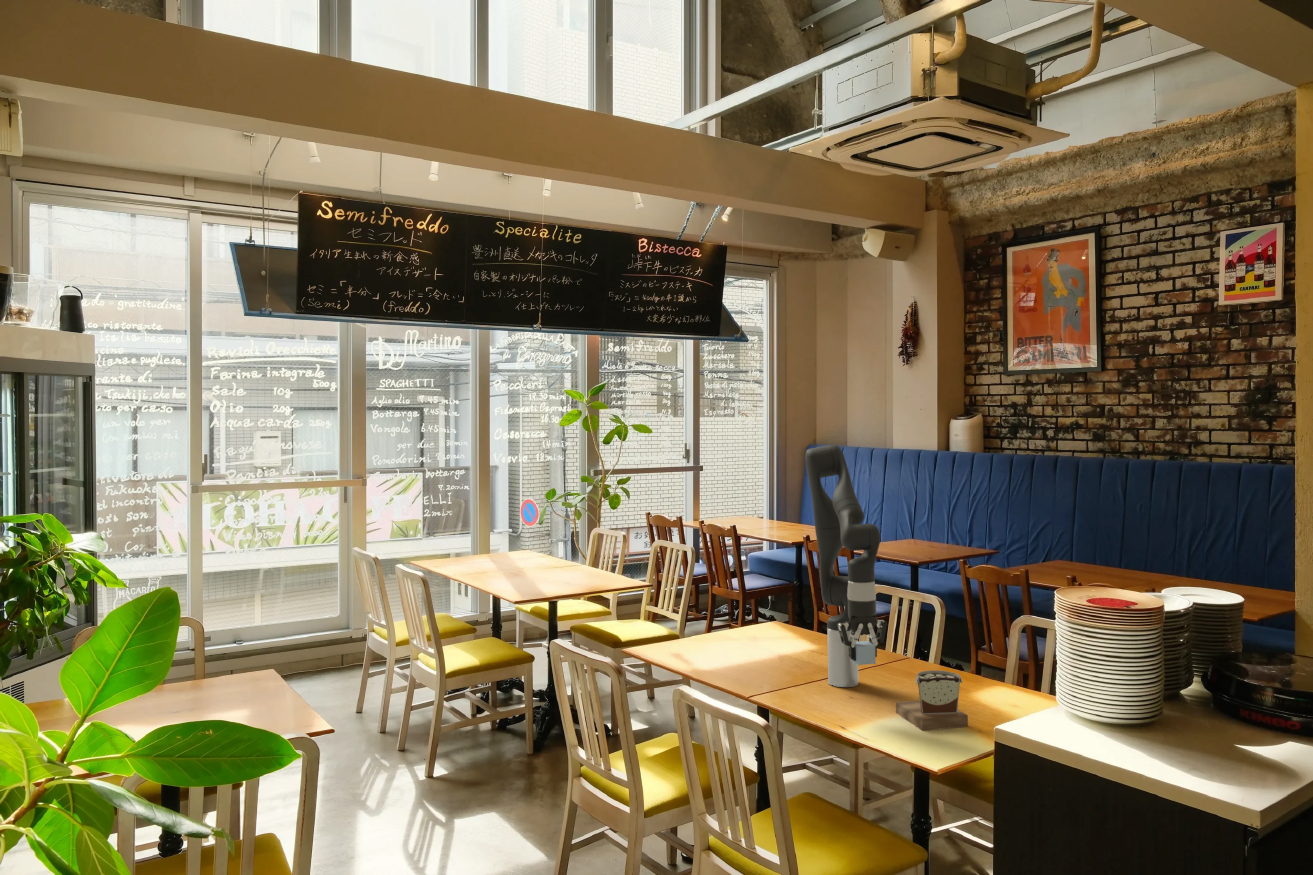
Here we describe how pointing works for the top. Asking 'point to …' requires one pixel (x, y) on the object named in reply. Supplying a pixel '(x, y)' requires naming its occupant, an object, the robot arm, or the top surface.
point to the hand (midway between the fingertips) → (862, 659)
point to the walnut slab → (930, 717)
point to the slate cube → (865, 653)
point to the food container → (938, 691)
